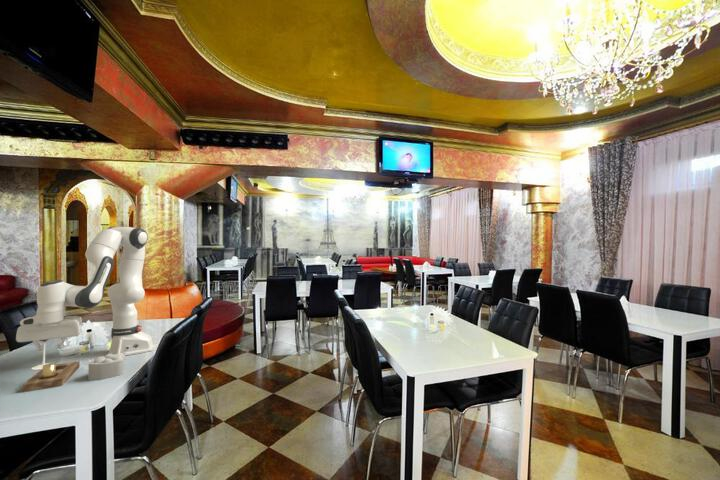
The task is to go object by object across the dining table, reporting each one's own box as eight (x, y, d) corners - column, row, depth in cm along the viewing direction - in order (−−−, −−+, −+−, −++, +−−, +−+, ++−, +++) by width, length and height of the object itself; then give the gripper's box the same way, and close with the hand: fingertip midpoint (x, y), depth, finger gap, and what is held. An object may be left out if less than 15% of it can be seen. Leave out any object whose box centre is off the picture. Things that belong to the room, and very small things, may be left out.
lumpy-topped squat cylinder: (124, 375, 139) (124, 356, 139) (86, 382, 131) (87, 363, 131) (124, 367, 147) (125, 350, 147) (89, 374, 139) (90, 356, 139)
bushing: (57, 380, 133) (57, 362, 133) (53, 384, 129) (53, 365, 129) (45, 382, 131) (45, 364, 131) (40, 386, 127) (40, 367, 128)
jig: (79, 367, 147) (79, 361, 147) (62, 385, 128) (62, 378, 128) (45, 372, 141) (46, 365, 141) (22, 392, 122) (22, 384, 122)
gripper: (84, 313, 138) (83, 343, 138) (22, 318, 128) (21, 350, 128) (79, 316, 133) (78, 347, 133) (14, 321, 123) (13, 355, 123)
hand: (49, 348), depth 130 cm, fingers open, 5 cm apart
